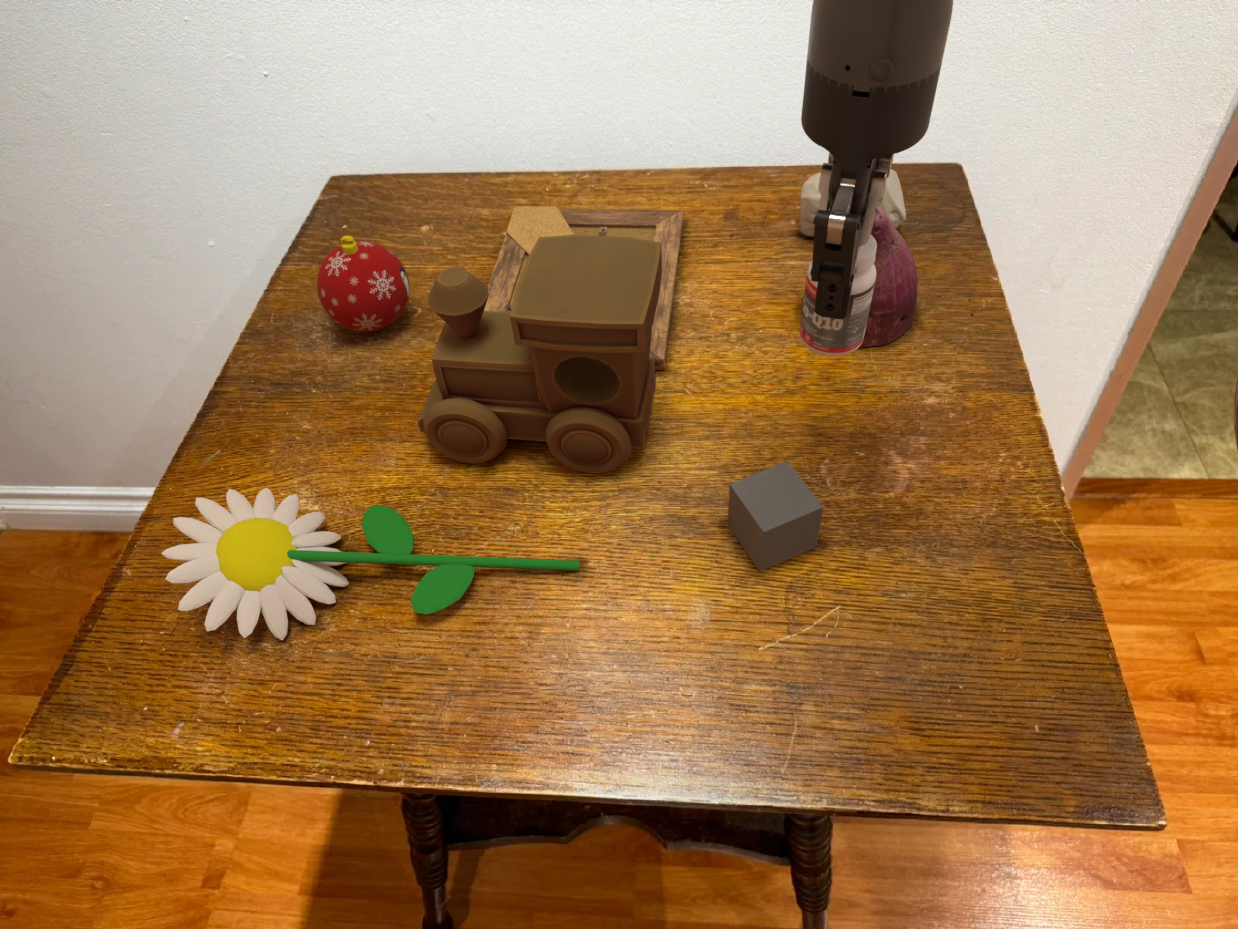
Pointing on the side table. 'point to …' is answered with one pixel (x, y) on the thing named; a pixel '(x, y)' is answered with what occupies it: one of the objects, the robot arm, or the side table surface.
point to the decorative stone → (811, 201)
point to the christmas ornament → (362, 285)
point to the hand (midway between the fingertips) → (838, 290)
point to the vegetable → (890, 285)
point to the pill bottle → (849, 331)
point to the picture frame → (595, 222)
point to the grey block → (774, 515)
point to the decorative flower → (303, 562)
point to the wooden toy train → (549, 355)
